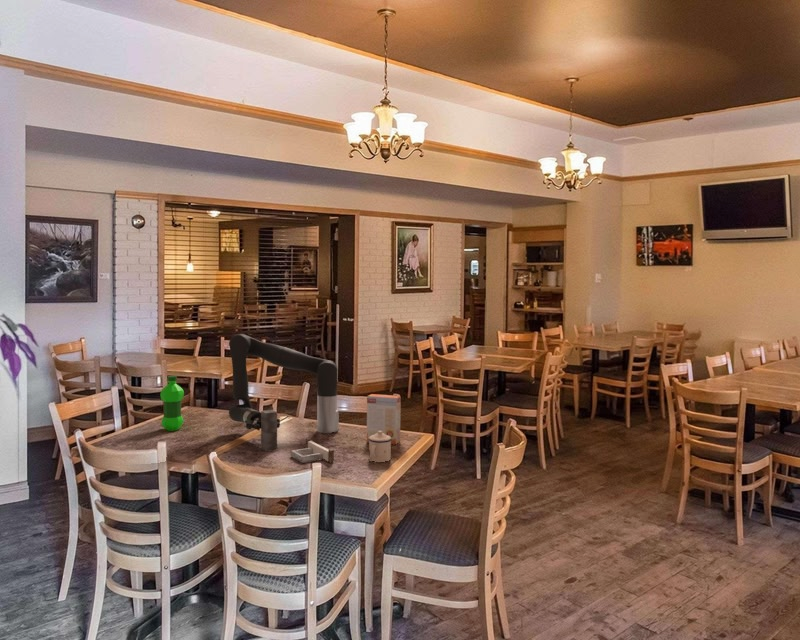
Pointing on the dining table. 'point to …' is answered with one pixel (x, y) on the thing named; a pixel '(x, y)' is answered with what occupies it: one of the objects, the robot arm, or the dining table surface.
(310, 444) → the gate panel
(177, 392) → the plastic bottle
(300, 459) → the grey open box
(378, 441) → the teacup with lid
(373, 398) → the cracker box
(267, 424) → the post
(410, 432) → the dining table surface
